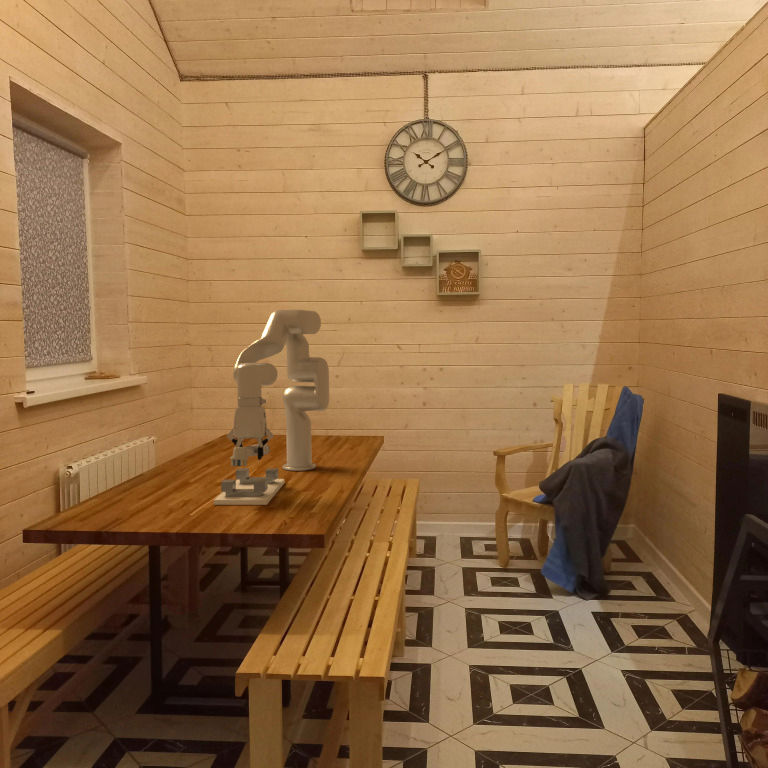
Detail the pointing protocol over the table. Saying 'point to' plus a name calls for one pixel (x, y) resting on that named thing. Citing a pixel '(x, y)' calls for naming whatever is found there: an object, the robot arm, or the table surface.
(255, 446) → the white handheld device
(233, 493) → the v blocks
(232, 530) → the table surface
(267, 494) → the stand board
